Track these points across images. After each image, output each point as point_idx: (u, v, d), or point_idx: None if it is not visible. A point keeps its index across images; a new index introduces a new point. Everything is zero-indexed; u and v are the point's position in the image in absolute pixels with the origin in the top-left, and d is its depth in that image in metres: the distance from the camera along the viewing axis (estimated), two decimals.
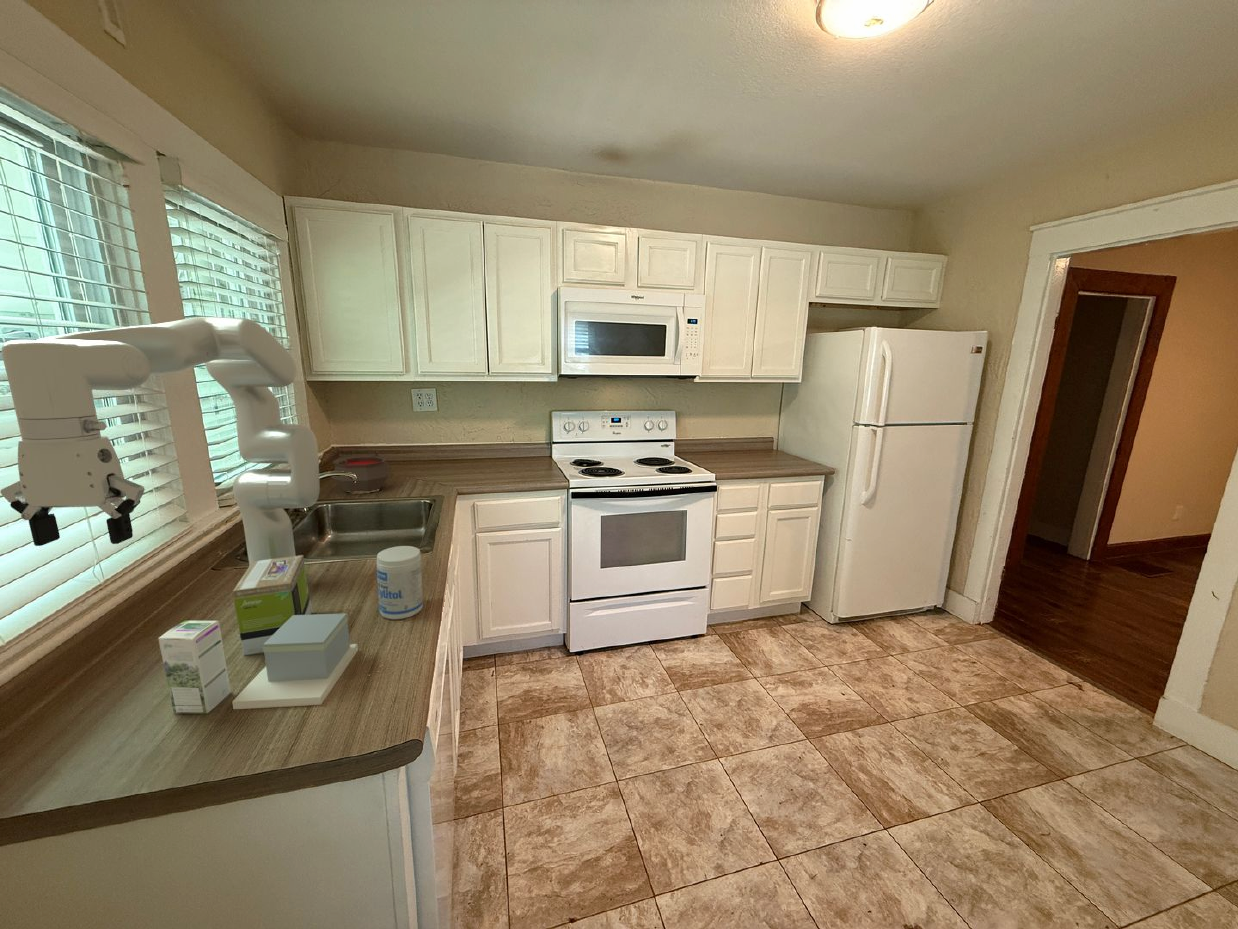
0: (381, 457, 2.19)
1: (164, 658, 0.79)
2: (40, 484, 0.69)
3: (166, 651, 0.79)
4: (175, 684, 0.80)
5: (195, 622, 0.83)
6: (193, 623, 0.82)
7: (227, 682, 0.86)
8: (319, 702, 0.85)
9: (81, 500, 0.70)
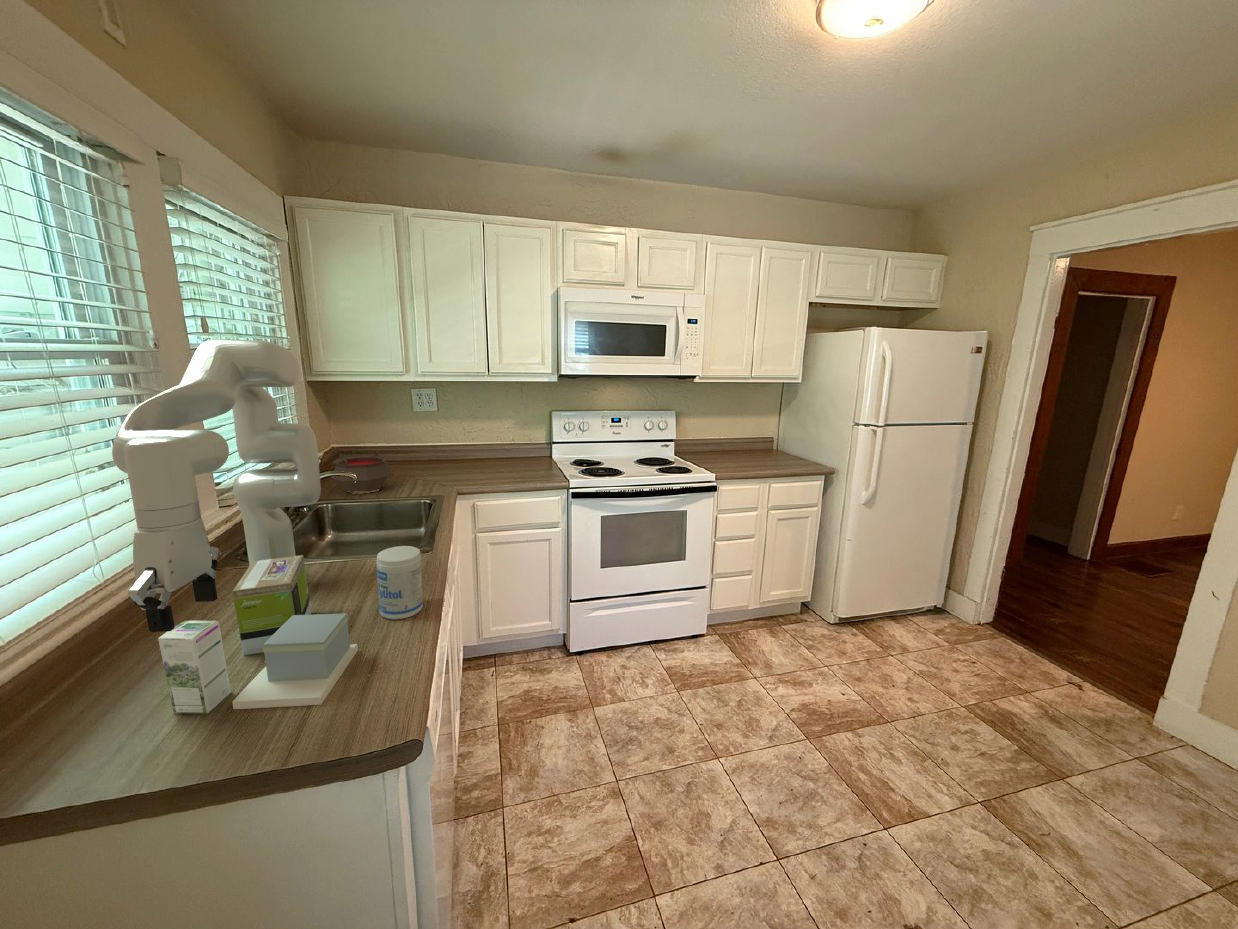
0: (381, 457, 2.19)
1: (164, 658, 0.79)
2: (183, 564, 0.77)
3: (166, 651, 0.79)
4: (175, 684, 0.80)
5: (195, 622, 0.83)
6: (193, 623, 0.82)
7: (227, 682, 0.86)
8: (319, 702, 0.85)
9: (203, 568, 0.81)
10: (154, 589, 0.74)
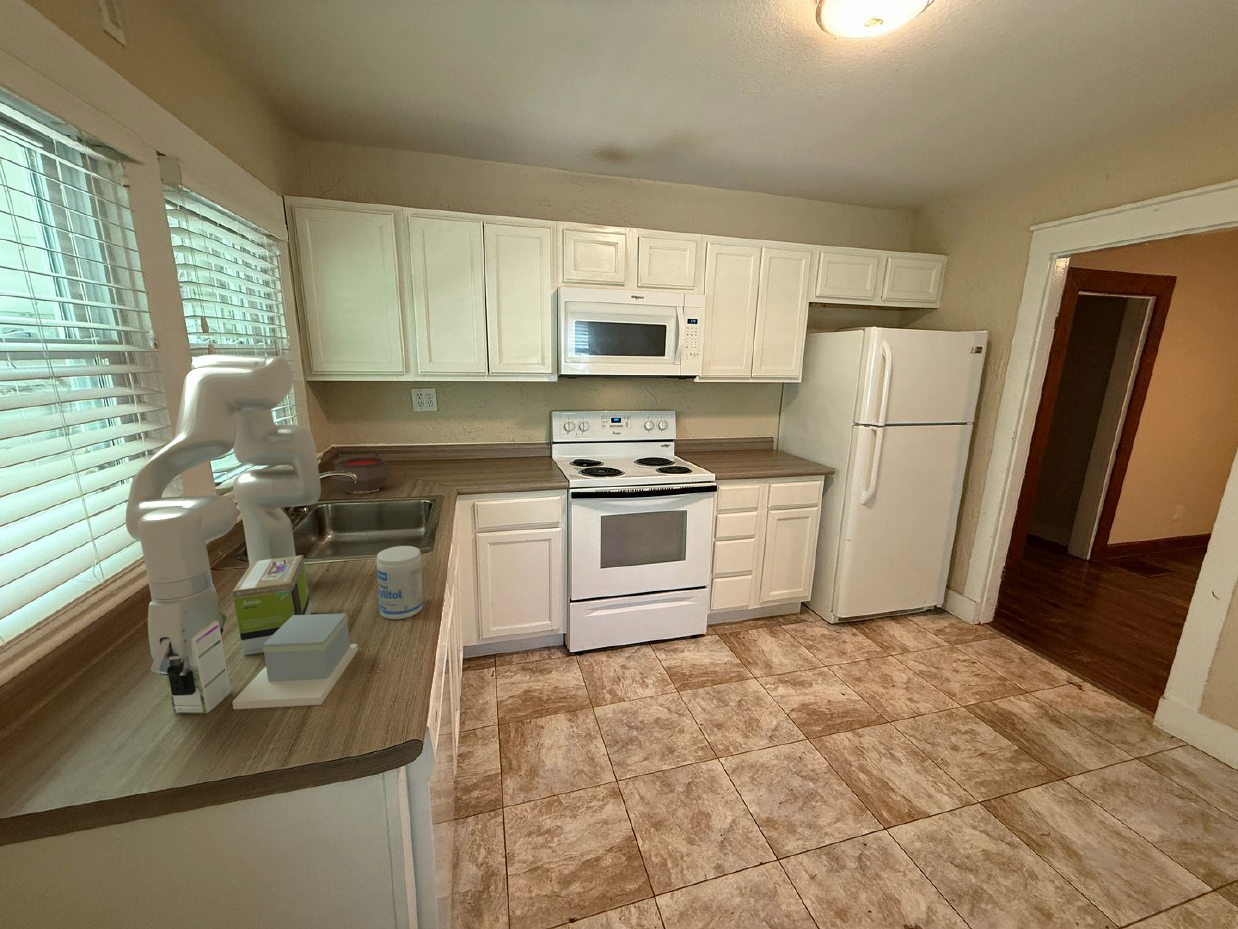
0: (381, 457, 2.19)
1: None
2: (196, 631, 0.79)
3: None
4: None
5: None
6: None
7: (227, 682, 0.86)
8: (319, 702, 0.85)
9: None
10: (173, 658, 0.78)
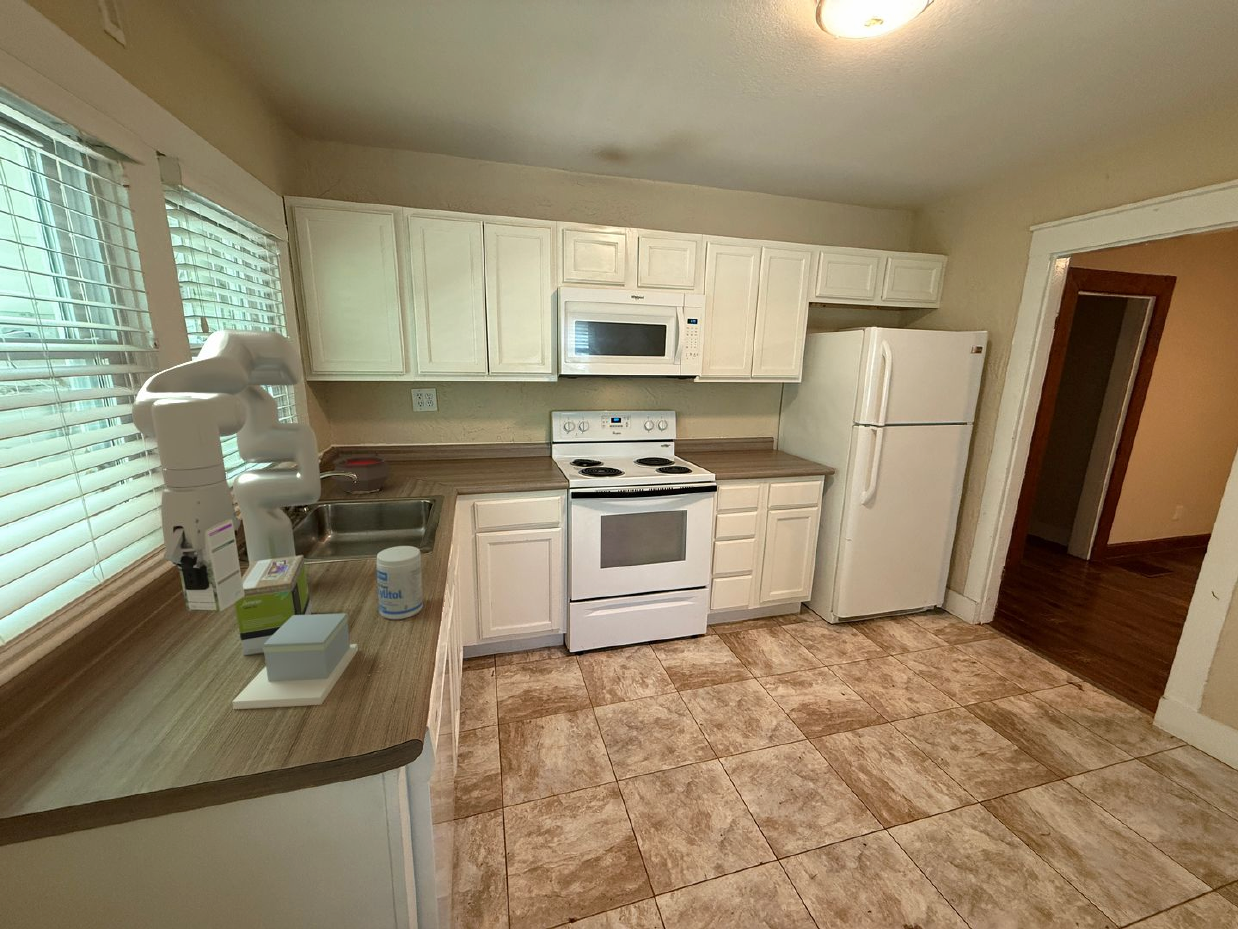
0: (381, 457, 2.19)
1: None
2: (209, 524, 0.78)
3: None
4: None
5: None
6: None
7: (240, 585, 0.84)
8: (319, 702, 0.85)
9: None
10: (186, 550, 0.77)
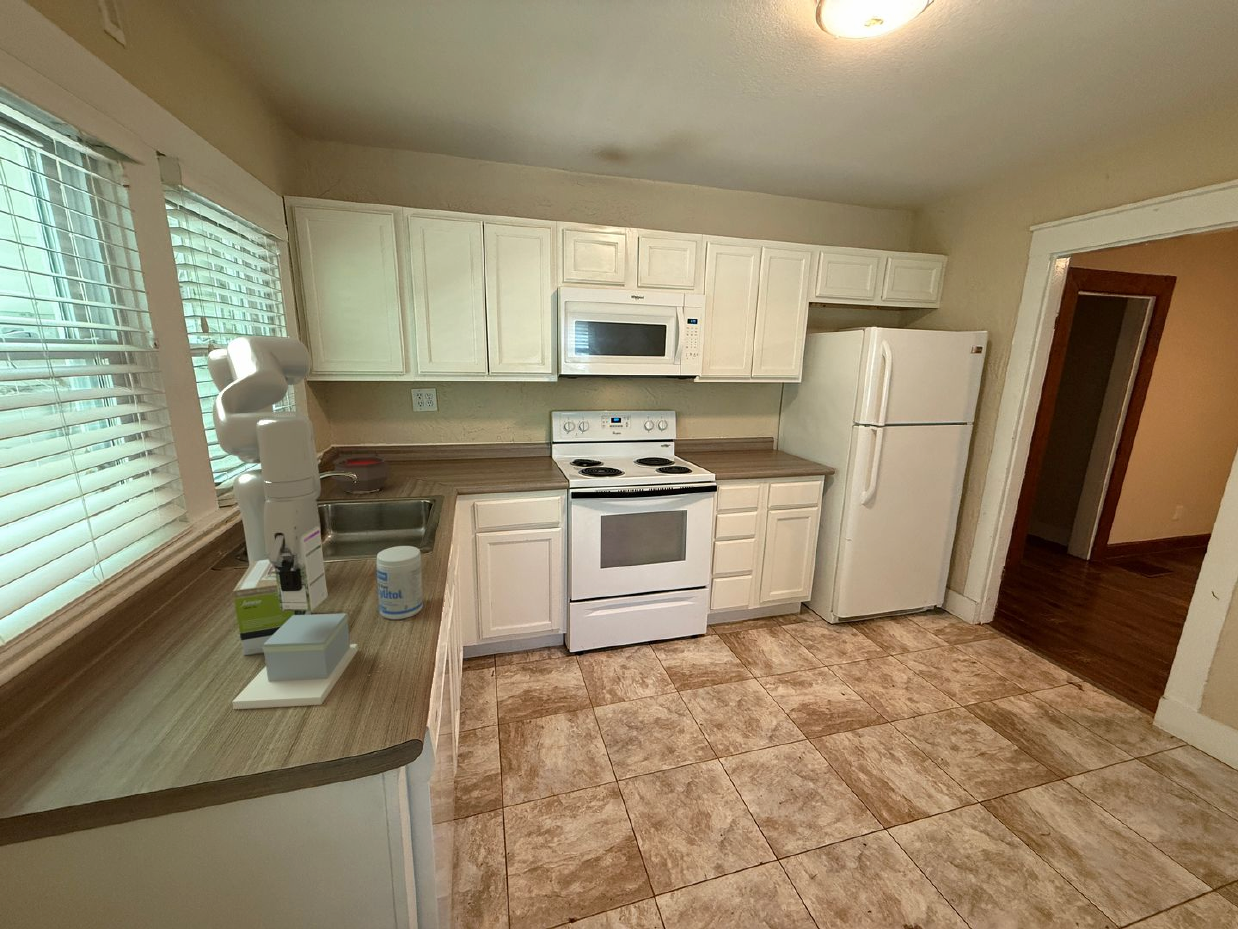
0: (381, 457, 2.19)
1: None
2: (303, 531, 0.86)
3: None
4: None
5: None
6: None
7: (325, 586, 0.92)
8: (319, 702, 0.85)
9: None
10: (284, 554, 0.84)
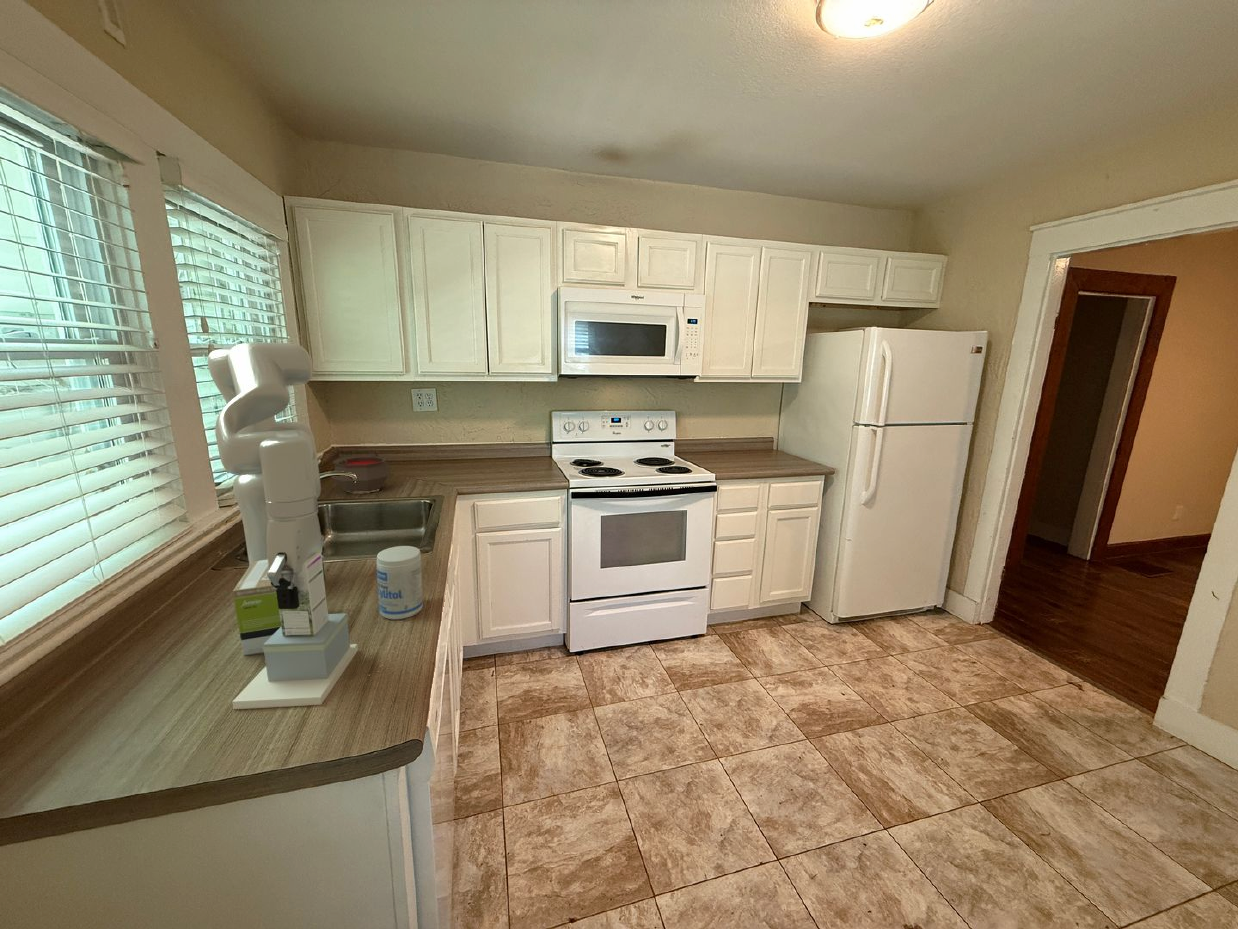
0: (381, 457, 2.19)
1: None
2: (305, 550, 0.87)
3: None
4: None
5: None
6: None
7: (326, 610, 0.93)
8: (319, 702, 0.85)
9: None
10: (283, 572, 0.84)
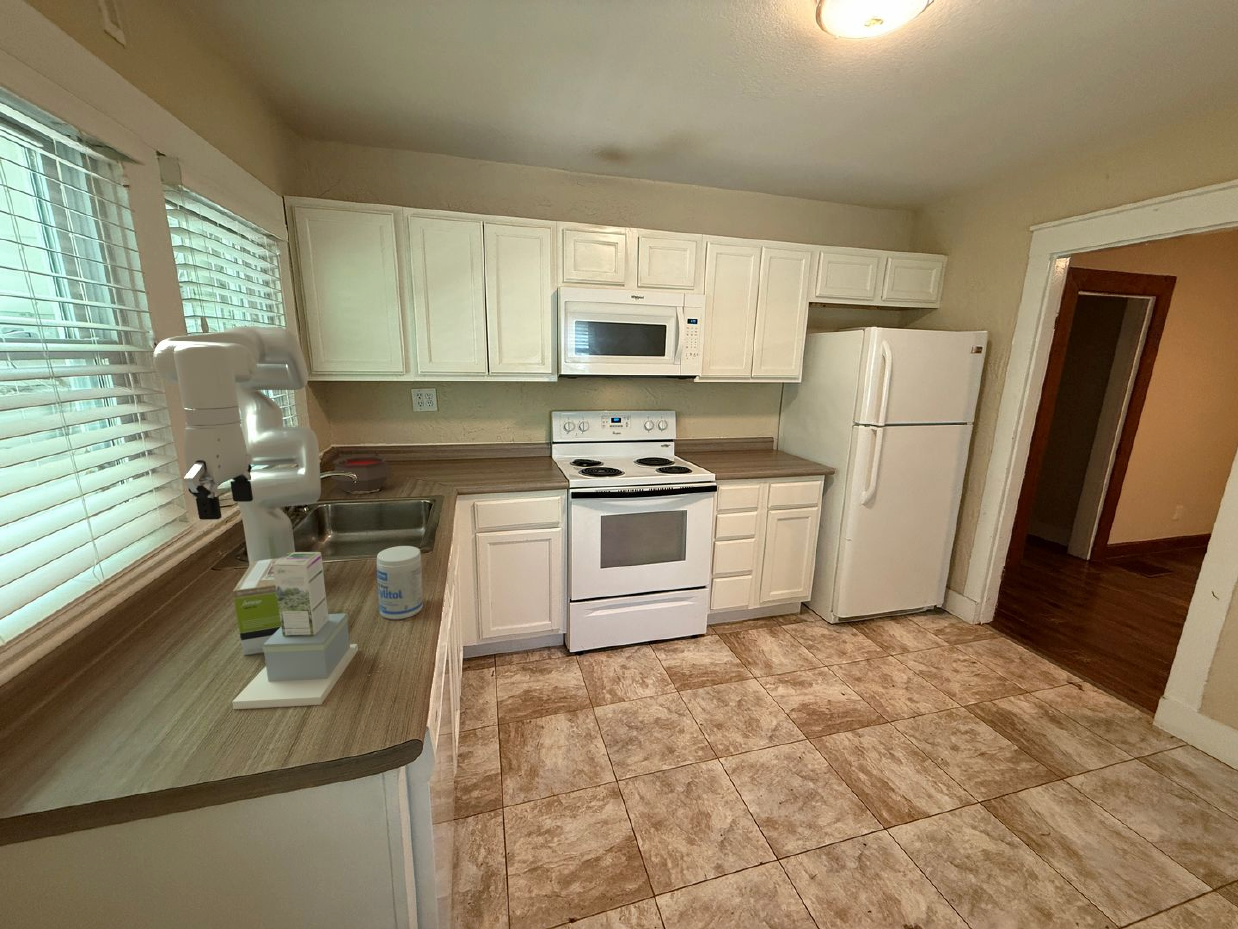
0: (381, 457, 2.19)
1: (277, 583, 0.86)
2: (227, 461, 0.85)
3: (279, 576, 0.86)
4: (286, 608, 0.87)
5: (300, 553, 0.90)
6: (299, 553, 0.90)
7: (326, 610, 0.93)
8: (319, 702, 0.85)
9: (242, 469, 0.90)
10: (203, 481, 0.83)
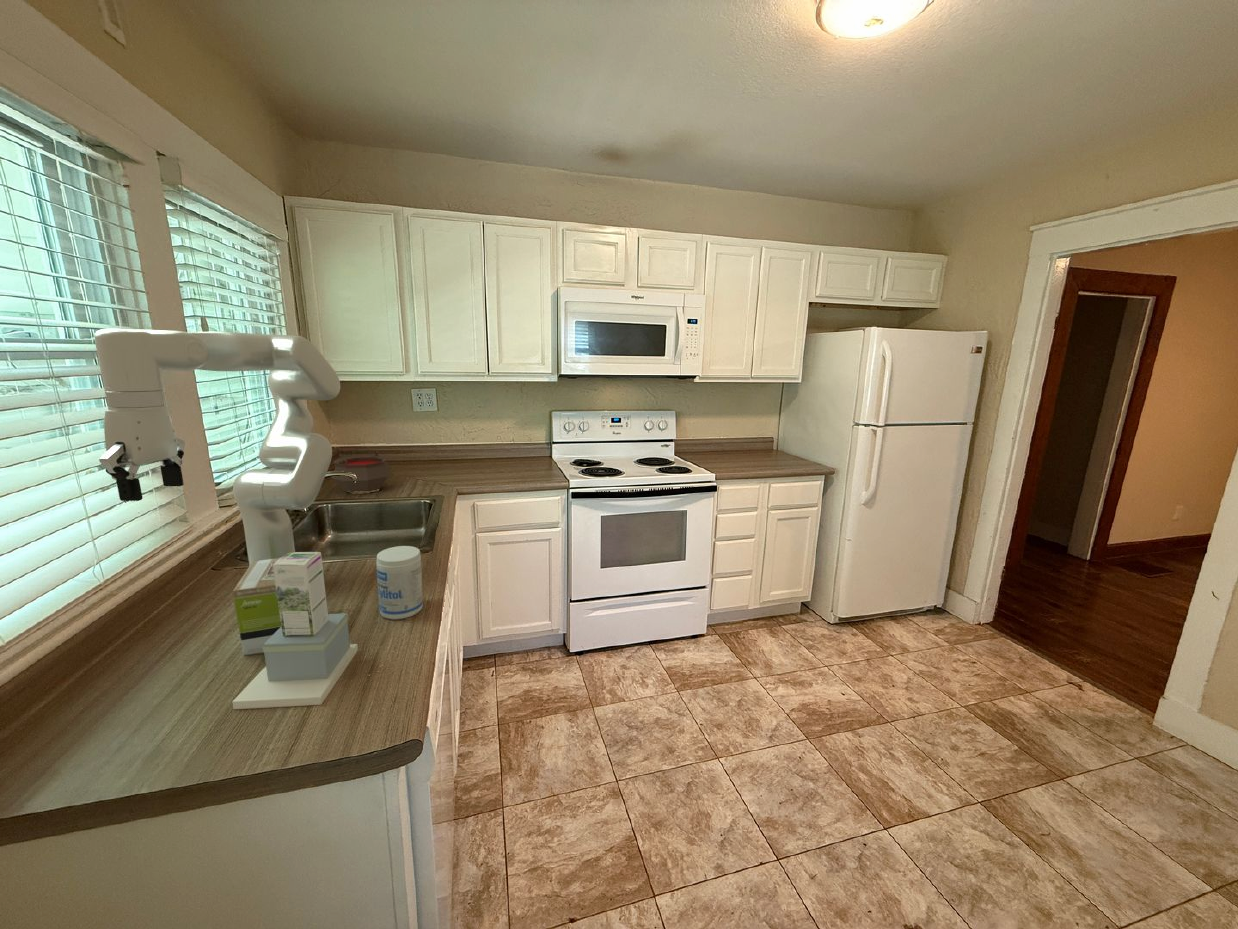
0: (381, 457, 2.19)
1: (277, 583, 0.86)
2: (150, 444, 0.87)
3: (279, 576, 0.86)
4: (286, 608, 0.87)
5: (300, 553, 0.90)
6: (299, 553, 0.90)
7: (326, 610, 0.93)
8: (319, 702, 0.85)
9: (169, 453, 0.92)
10: (123, 462, 0.85)
